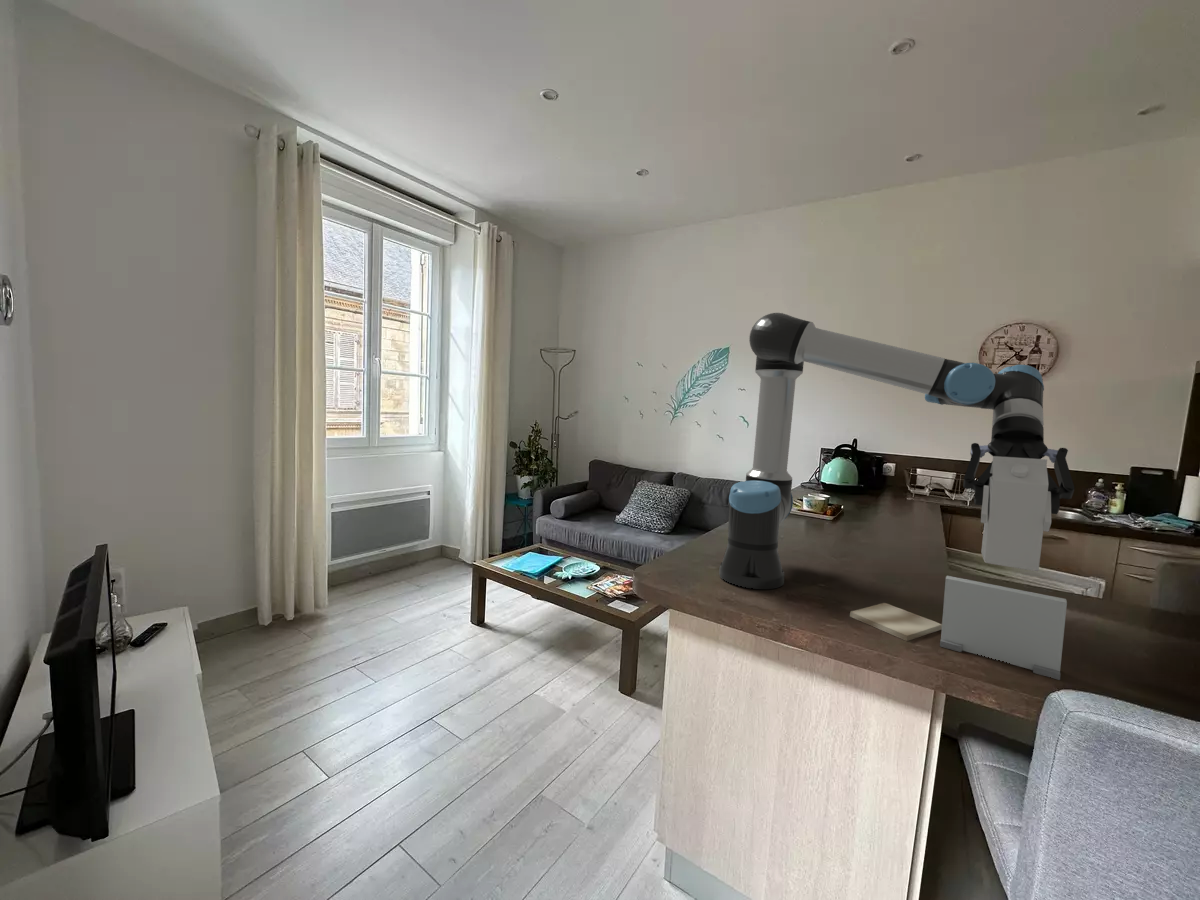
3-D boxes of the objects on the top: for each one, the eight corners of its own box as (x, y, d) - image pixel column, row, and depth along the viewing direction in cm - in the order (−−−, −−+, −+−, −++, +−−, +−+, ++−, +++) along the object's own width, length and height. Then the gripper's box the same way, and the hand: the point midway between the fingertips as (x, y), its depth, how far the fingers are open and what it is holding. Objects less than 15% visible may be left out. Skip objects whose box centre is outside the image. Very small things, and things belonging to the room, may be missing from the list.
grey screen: (939, 646, 81) (945, 579, 80) (942, 638, 84) (947, 574, 83) (1059, 680, 71) (1067, 604, 70) (1057, 669, 74) (1065, 597, 73)
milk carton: (980, 554, 88) (991, 454, 86) (1031, 562, 84) (1043, 458, 82) (984, 563, 82) (995, 457, 80) (1038, 572, 78) (1051, 461, 76)
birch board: (850, 616, 93) (850, 611, 92) (884, 607, 97) (884, 602, 97) (906, 641, 83) (907, 635, 83) (941, 629, 88) (942, 624, 88)
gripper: (1086, 444, 87) (1094, 546, 75) (951, 437, 99) (940, 524, 88) (1096, 415, 82) (1105, 520, 71) (953, 412, 95) (942, 500, 84)
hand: (1014, 522), depth 80 cm, fingers closed on milk carton, 7 cm apart
